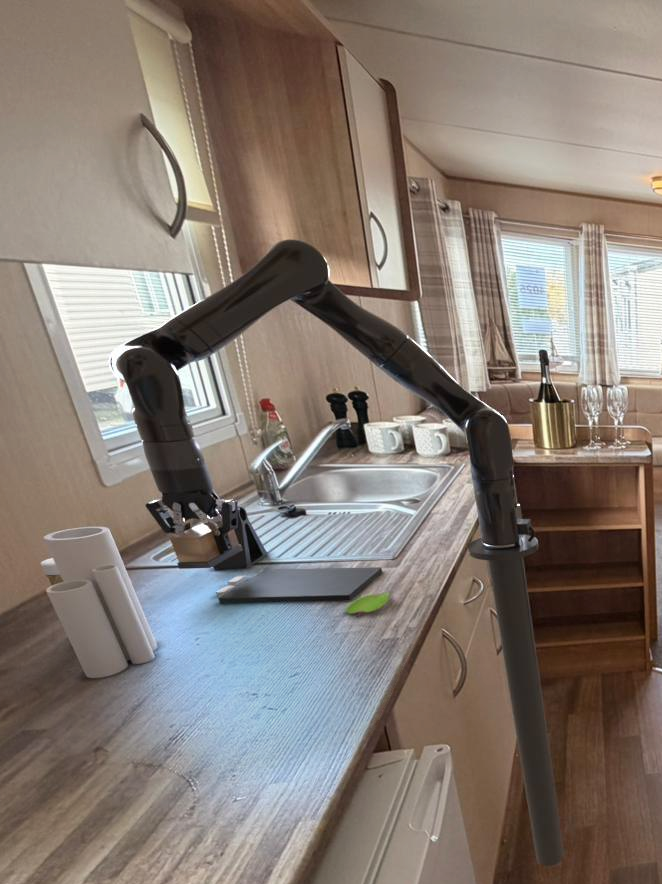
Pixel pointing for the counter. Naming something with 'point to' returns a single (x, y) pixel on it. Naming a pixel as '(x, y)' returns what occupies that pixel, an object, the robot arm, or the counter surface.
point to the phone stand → (244, 544)
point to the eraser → (201, 548)
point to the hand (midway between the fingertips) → (209, 552)
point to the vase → (98, 602)
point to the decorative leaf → (368, 603)
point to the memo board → (302, 585)
